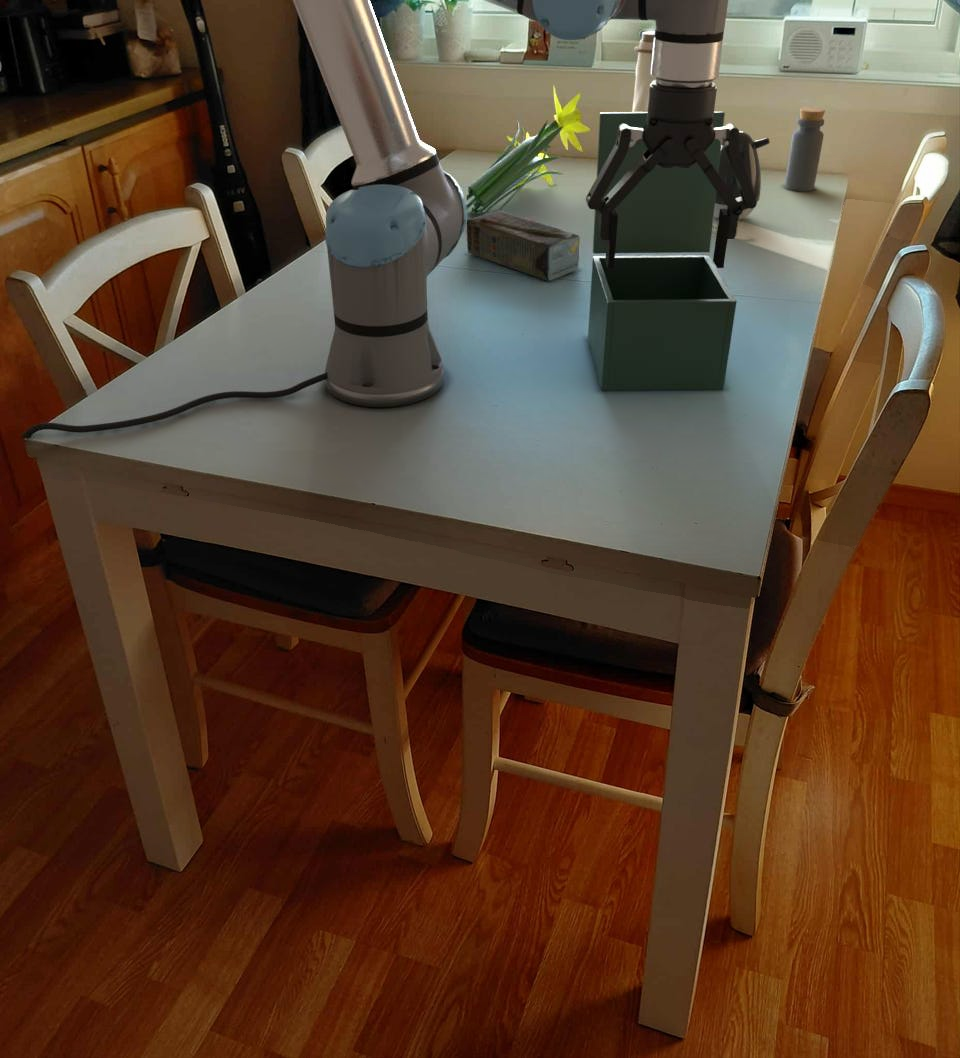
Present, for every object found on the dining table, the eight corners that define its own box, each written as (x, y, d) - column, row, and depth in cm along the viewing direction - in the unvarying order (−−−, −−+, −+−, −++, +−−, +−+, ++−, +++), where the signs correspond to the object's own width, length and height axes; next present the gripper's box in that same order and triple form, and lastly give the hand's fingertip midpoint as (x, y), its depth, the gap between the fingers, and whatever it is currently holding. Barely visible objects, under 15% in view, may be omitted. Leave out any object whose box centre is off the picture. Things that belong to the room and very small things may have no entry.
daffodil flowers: (431, 210, 191) (527, 127, 208) (489, 258, 191) (580, 171, 208) (454, 147, 176) (556, 64, 193) (517, 198, 176) (613, 110, 193)
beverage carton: (547, 283, 156) (548, 242, 152) (464, 255, 167) (463, 216, 163) (580, 270, 160) (582, 230, 157) (497, 244, 172) (497, 206, 168)
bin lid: (724, 112, 122) (723, 111, 123) (600, 113, 122) (599, 112, 123) (709, 252, 131) (708, 251, 132) (593, 253, 131) (592, 252, 132)
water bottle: (676, 180, 205) (692, 32, 189) (659, 191, 199) (674, 38, 183) (631, 173, 209) (643, 28, 193) (613, 183, 203) (624, 34, 187)
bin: (723, 389, 125) (736, 301, 118) (601, 390, 124) (607, 302, 118) (697, 337, 138) (708, 255, 132) (587, 338, 138) (592, 256, 131)
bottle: (778, 185, 202) (791, 107, 193) (803, 182, 203) (817, 105, 195) (794, 192, 197) (808, 113, 189) (819, 190, 199) (834, 111, 190)
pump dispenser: (756, 227, 179) (770, 140, 170) (699, 222, 181) (709, 136, 173) (758, 211, 187) (771, 127, 178) (703, 207, 189) (713, 124, 181)
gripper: (785, 74, 113) (755, 254, 125) (570, 74, 113) (561, 254, 125) (803, 86, 107) (771, 274, 119) (576, 87, 107) (566, 275, 119)
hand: (663, 265), depth 122 cm, fingers open, 13 cm apart
